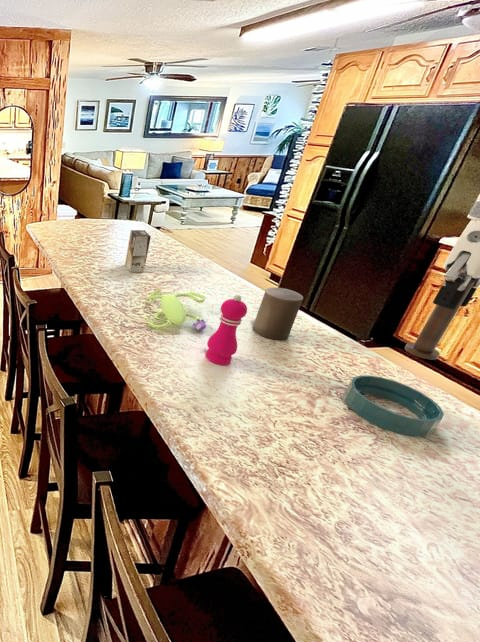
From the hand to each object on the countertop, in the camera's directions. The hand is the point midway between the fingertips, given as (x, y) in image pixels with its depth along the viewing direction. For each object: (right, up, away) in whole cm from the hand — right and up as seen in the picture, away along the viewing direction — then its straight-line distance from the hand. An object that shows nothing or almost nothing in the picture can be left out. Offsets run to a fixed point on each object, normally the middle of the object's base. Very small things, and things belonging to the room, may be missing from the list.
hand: (449, 304), depth 77 cm
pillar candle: (-3, -10, +46) cm, 47 cm away
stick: (0, -10, +5) cm, 12 cm away
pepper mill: (-28, -16, +32) cm, 46 cm away
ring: (-1, -26, +13) cm, 29 cm away
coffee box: (-30, +14, +94) cm, 99 cm away
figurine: (-30, -5, +56) cm, 63 cm away
